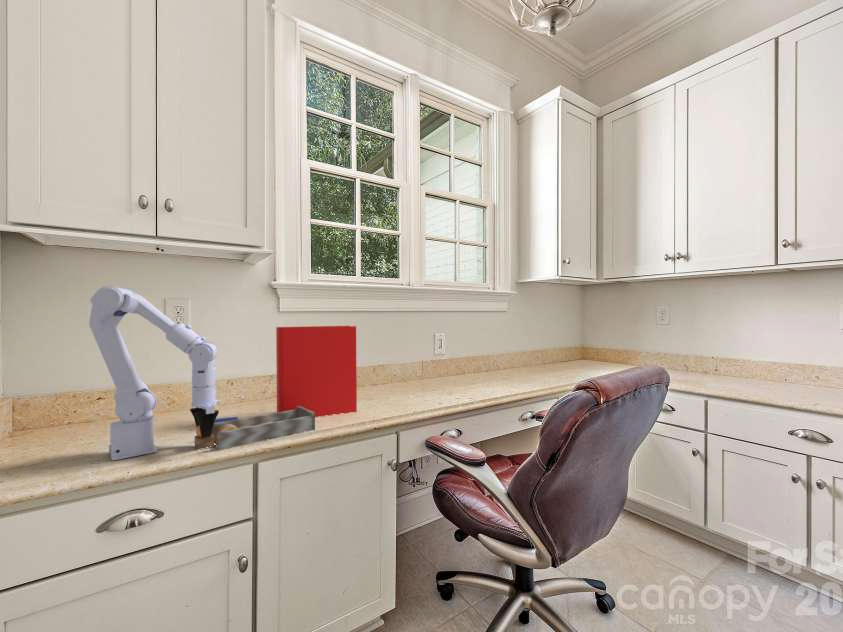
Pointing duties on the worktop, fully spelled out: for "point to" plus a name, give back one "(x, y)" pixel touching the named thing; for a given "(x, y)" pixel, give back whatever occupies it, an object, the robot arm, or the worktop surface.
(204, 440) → the brown wooden crate
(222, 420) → the hard drive
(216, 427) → the lane
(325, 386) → the book
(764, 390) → the worktop surface
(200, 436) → the ball
